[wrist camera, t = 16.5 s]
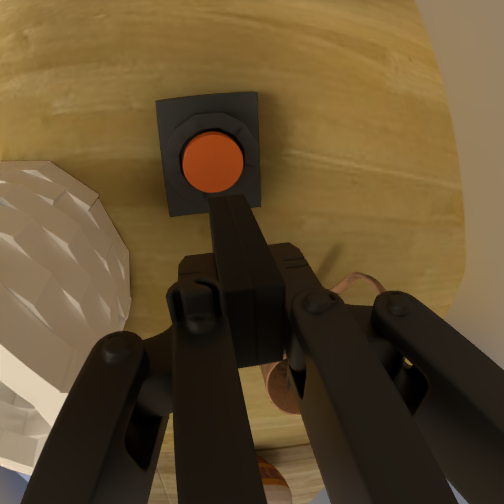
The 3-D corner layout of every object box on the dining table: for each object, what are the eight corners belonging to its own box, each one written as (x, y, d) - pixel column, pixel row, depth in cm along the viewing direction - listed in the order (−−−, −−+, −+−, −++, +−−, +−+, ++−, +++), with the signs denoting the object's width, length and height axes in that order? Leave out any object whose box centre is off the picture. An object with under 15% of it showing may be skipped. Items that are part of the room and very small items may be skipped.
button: (180, 134, 23) (179, 138, 21) (238, 128, 23) (242, 132, 22) (186, 189, 25) (185, 196, 23) (241, 183, 25) (245, 189, 24)
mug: (375, 250, 36) (434, 315, 25) (306, 357, 42) (334, 428, 32) (291, 219, 32) (339, 290, 21) (227, 345, 39) (242, 427, 28)
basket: (-55, 160, 21) (-173, 243, 4) (139, 161, 26) (66, 287, 10) (-14, 336, 32) (-59, 444, 16) (139, 360, 38) (132, 498, 21)
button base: (158, 100, 24) (152, 102, 21) (252, 91, 25) (262, 92, 22) (171, 208, 29) (168, 226, 26) (256, 198, 30) (265, 214, 27)
